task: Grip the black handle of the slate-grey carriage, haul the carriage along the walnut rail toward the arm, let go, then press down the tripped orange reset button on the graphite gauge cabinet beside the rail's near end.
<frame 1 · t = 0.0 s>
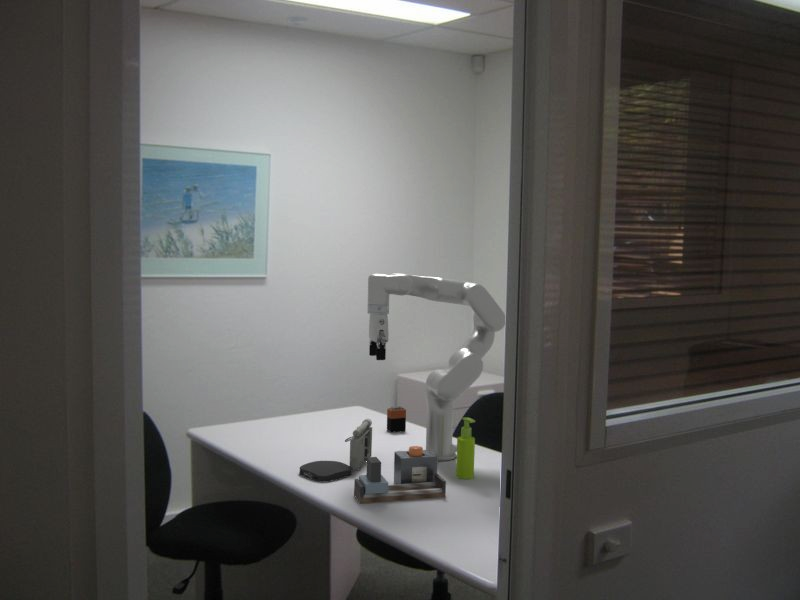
hand: (377, 357, 283), 37 cm above the table, tool pointing down, fingers open, 9 cm apart
battery: (396, 431, 329), on the table
geiger counter: (361, 461, 285), on the table
soap dispenser: (465, 477, 269), on the table
carriage: (373, 474, 245), point 7 cm above the table, slide at 8.5 cm
gauge cabinet: (415, 484, 260), on the table
reset button: (415, 454, 259), point 10 cm above the table, slide at 0.0 cm
media streaming box: (325, 475, 269), on the table
rail: (399, 496, 248), on the table
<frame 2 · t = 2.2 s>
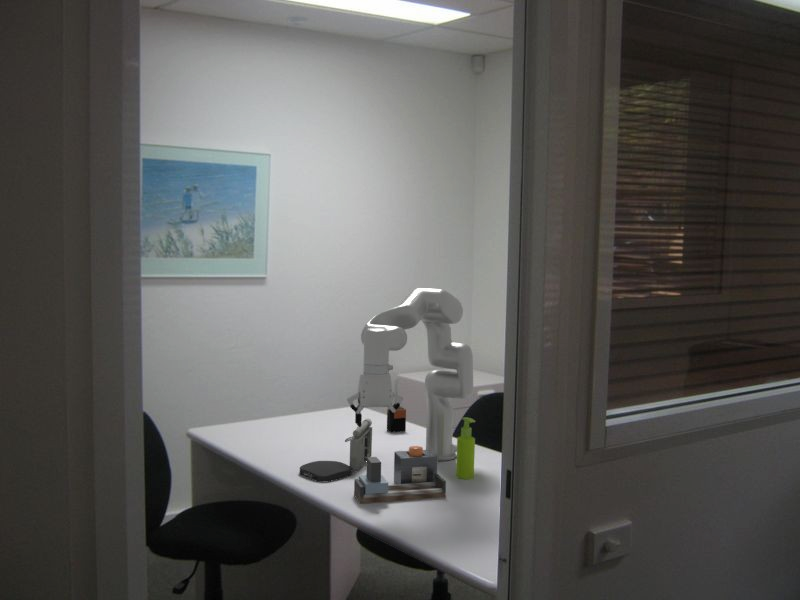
hand: (374, 425, 244), 23 cm above the table, tool pointing down, fingers open, 9 cm apart
nothing on the table moved.
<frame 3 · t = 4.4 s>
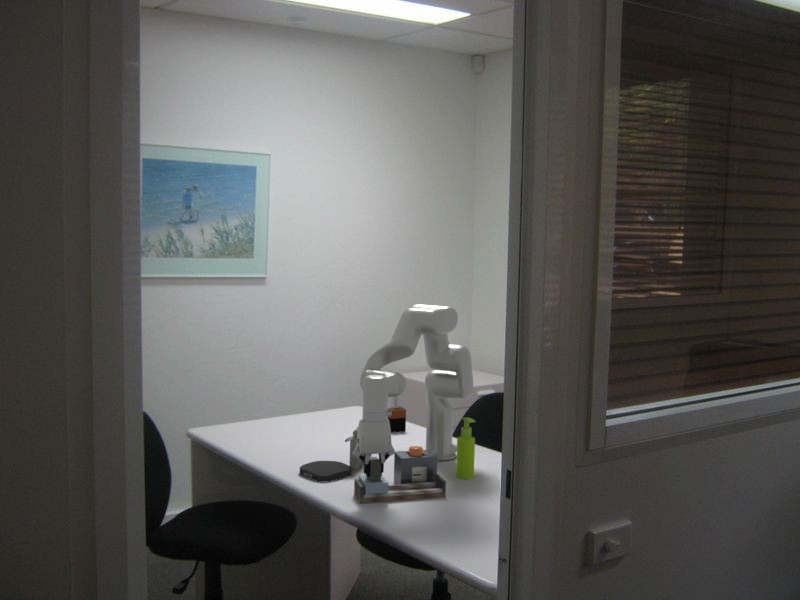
hand: (373, 474, 245), 7 cm above the table, tool pointing down, fingers closed on carriage, 3 cm apart
carriage: (373, 474, 245), point 7 cm above the table, slide at 8.5 cm, touching gripper
everything else where it was.
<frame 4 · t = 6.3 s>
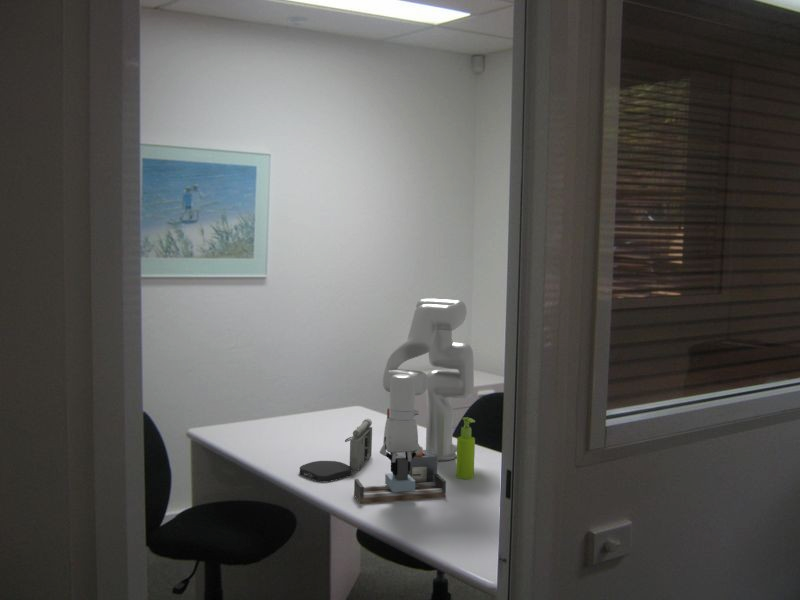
hand: (400, 473, 248), 7 cm above the table, tool pointing down, fingers closed on carriage, 3 cm apart
carriage: (400, 472, 248), point 7 cm above the table, slide at 0.0 cm, touching gripper
everything else where it was.
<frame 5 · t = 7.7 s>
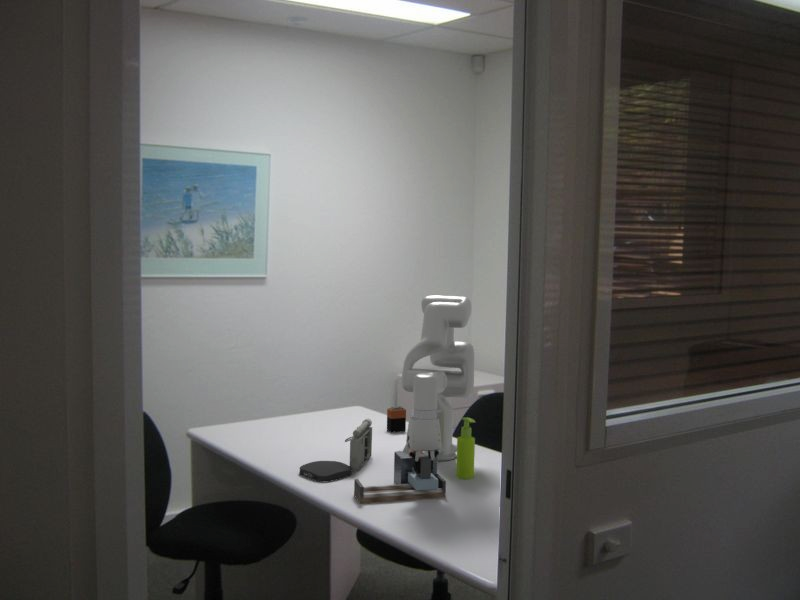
hand: (423, 471, 250), 7 cm above the table, tool pointing down, fingers closed on carriage, 3 cm apart
carriage: (423, 471, 250), point 7 cm above the table, slide at -7.4 cm, touching gripper
everything else where it was.
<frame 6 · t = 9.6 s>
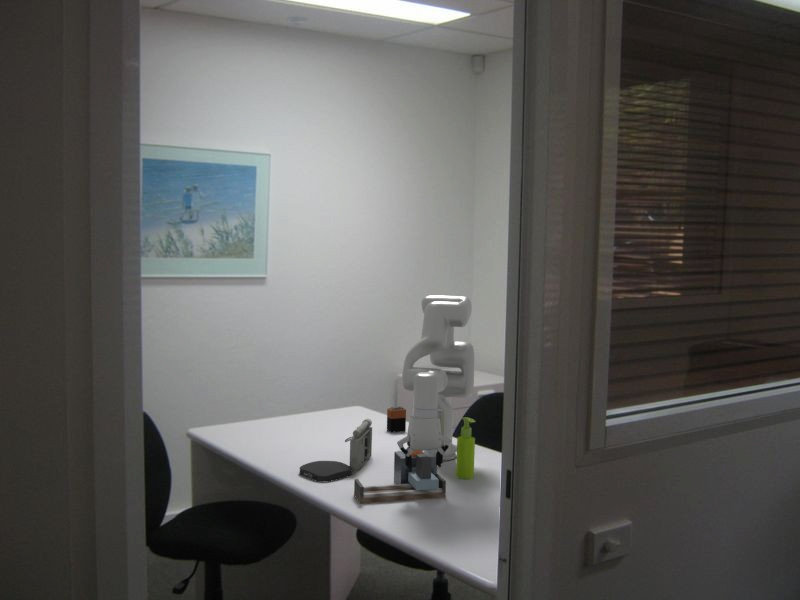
hand: (423, 466, 250), 9 cm above the table, tool pointing down, fingers open, 9 cm apart
carriage: (423, 471, 250), point 7 cm above the table, slide at -7.5 cm
everything else where it was.
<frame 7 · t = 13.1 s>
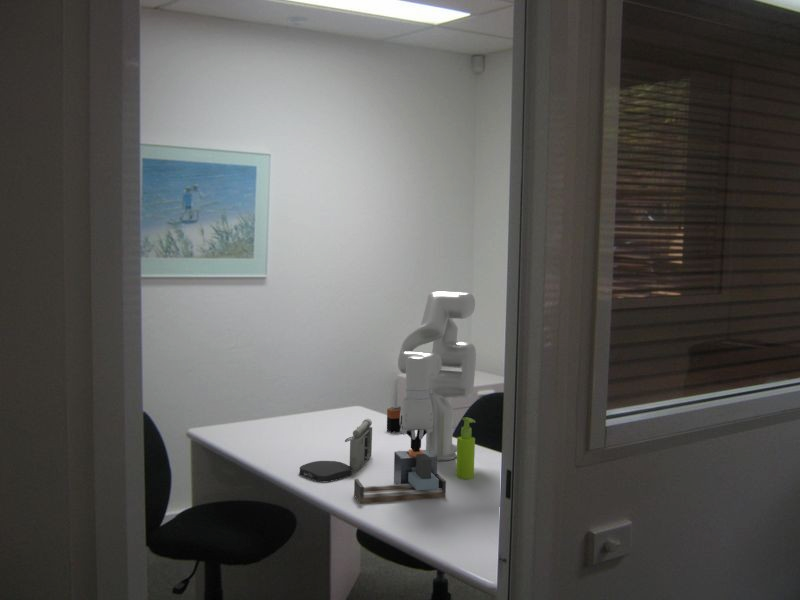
hand: (415, 450, 259), 11 cm above the table, tool pointing down, fingers closed
reset button: (415, 456, 259), point 9 cm above the table, slide at 0.9 cm, touching gripper
everything else where it was.
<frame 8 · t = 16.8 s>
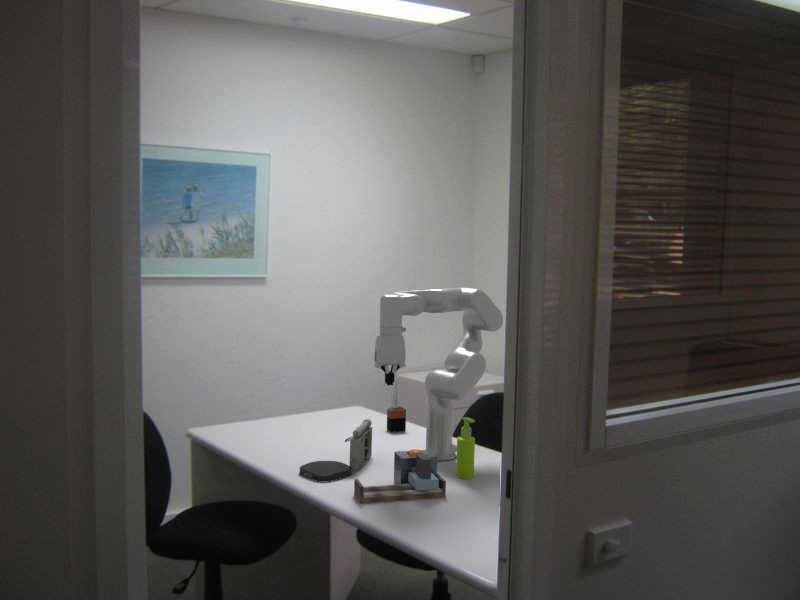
hand: (389, 384, 275), 29 cm above the table, tool pointing down, fingers closed
reset button: (415, 457, 259), point 9 cm above the table, slide at 1.1 cm
everything else where it was.
at the end: carriage slide at -7.5 cm; reset button slide at 1.1 cm; the gripper is holding nothing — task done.
